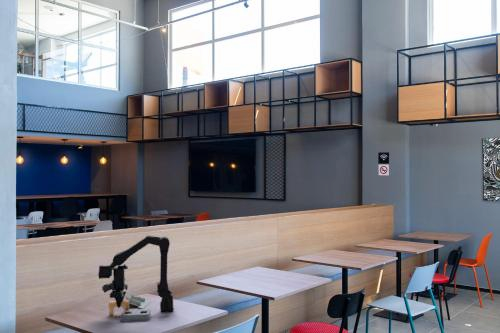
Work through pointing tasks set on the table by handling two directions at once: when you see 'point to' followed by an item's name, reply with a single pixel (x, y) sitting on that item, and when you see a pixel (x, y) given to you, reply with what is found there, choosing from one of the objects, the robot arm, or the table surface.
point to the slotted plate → (135, 315)
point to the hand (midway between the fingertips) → (119, 306)
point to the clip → (114, 304)
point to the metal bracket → (138, 301)
